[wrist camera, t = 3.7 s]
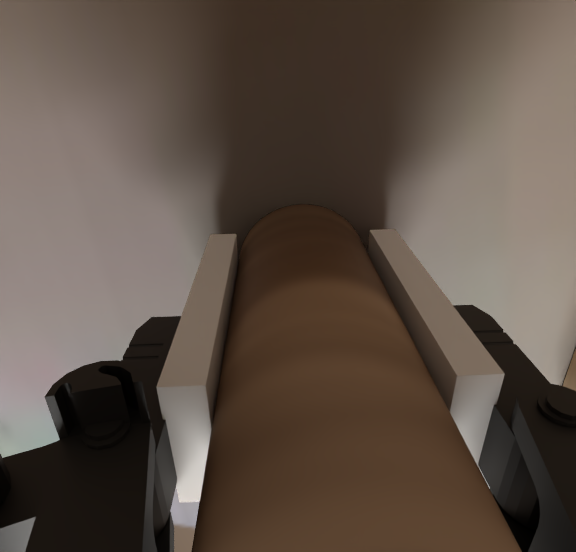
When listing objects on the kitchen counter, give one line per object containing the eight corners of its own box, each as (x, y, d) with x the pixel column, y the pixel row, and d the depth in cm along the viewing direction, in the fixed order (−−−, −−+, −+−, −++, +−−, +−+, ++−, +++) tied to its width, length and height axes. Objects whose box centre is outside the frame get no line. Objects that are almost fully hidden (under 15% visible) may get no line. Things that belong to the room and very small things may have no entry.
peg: (234, 206, 13) (145, 559, 4) (368, 202, 13) (607, 537, 4) (243, 320, 14) (198, 745, 5) (360, 315, 14) (507, 726, 5)
